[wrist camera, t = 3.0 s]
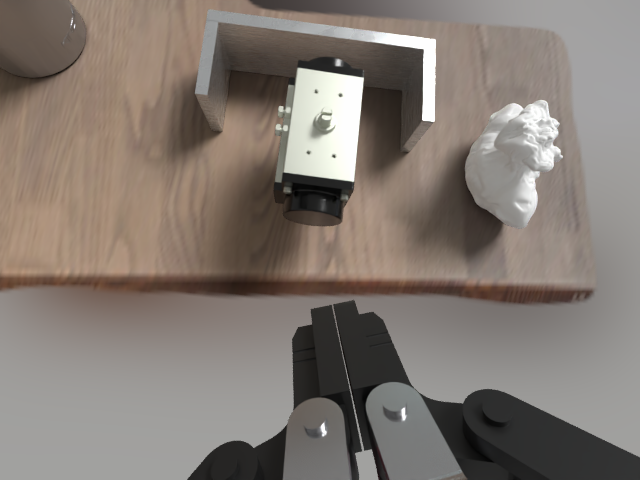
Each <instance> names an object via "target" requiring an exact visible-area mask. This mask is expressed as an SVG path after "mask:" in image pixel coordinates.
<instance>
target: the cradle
mask: <svg viewBox="0 0 640 480" xmlns="http://www.w3.org/2000/svg"><path fill="white" fill-rule="evenodd" d="M318 57H334V58H338V59H341V60H343V61H345V62H347V63H348V64H349V65H350V66H351V67H352V68H353V69H360V70H364V71H365V72H364V83H363V86H367V87H376V88H384V89H392V90H400V91H402V108H401V141H400V151H405V152H410V151H411V150H412V149H413V147H414V146H415V145H416V144H417V142H418V141H419V140H420V139H421V137H422V136H423V135H424V134H425V132H426V131H427V130H428V129H429V127H430V126H431V125H432V124H433V122H434V101H435V40H434V39H426V38H419V37H411V36H404V35H397V34H389V33H382V32H374V31H367V30H359V29H352V28H344V27H337V26H329V25H322V24H314V23H307V22H299V21H292V20H284V19H277V18H269V17H262V16H255V15H247V14H240V13H232V12H225V11H217V10H210V9H208V14H207V20H206V26H205V33H204V39H203V45H202V51H201V58H200V64H199V70H198V77H197V83H196V89H195V95H196V97H197V99H198V101H199V104H200V106H201V108H202V110H203V112H204V114H205V116H206V119H207V121H208V123H209V125H210V127H211V129H212V131H220V132H222V131H223V124H224V117H225V109H226V102H227V95H228V88H229V80H230V73H231V70H236V71H244V72H252V73H261V74H269V75H277V76H285V77H293V78H296V71H297V64H298V60H302V61H310V60H312V59H314V58H318Z"/></svg>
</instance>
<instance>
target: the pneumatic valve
mask: <svg viewBox="0 0 640 480" xmlns="http://www.w3.org/2000/svg"><path fill="white" fill-rule="evenodd" d="M364 72H365V71H364V70H360V69H353V68H352V67H351V66H350V65H349V64H348V63H347V62H345V61H343V60H341V59H338V58H334V57H318V58H314V59H312V60H310V61H302V60H298V64H297V71H296V78H289V83H288V90H287V97H286V105H285V110H284V106H279V109H278V117H280V118H283V115H284V119H283V126H282V128H281V124H276V130H275V135H277V136H280V135H281V140H280V147H279V154H278V161H277V169H276V176H275V183H274V190H273V191H274V197H275V202H276V203H281V204H283V216H284V217H285V218H286V219H288V220H290V221H293V222H296V223H300V224H305V225H311V226H334V225H338V224H340V223H341V222H342V219H343V208H344V207H345V205H346V203H347V201H348V200H349V198H350V196H351V194H352V193H353V190H354V179H355V168H356V158H357V147H358V136H359V126H360V115H361V104H362V94H363V83H364Z"/></svg>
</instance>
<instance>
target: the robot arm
mask: <svg viewBox="0 0 640 480" xmlns="http://www.w3.org/2000/svg"><path fill="white" fill-rule="evenodd" d="M85 41H86V28H85V24H84V21H83V19H82V17H81V16H80V14H79V13H78V11H77V10H76V9H75V7H74V6H73V5H72V3H71V2H70V1H69V0H0V67H1V68H2V69H4V70H5V71H7V72H9V73H11V74H14V75H17V76H21V77H29V78H34V77H44V76H48V75H52V74H55V73H57V72H59V71H62V70H63V69H65V68H66V67H68V66H69V65H71V64H72V63H73V62H74V61H75V60H76V59H77V58H78V56H79V55H80V53H81V52H82V50H83V47H84V44H85ZM334 311H335V315H336V320H337V326H338V330H339V335H340V341H341V346H342V350H343V355H344V360H345V364H346V369H347V374H348V378H349V383H350V387H351V391H352V396H353V401H354V405H355V410H356V414H357V419H358V423H359V428H360V433H361V437H362V442H363V446H364V450H370V449H372V451H373V456H374V460H375V464H376V468H377V474H378V479H379V480H640V457H638V456H636V455H633V454H631V453H629V452H627V451H625V450H623V449H621V448H619V447H617V446H615V445H613V444H611V443H609V442H607V441H605V440H602V439H600V438H598V437H596V436H594V435H592V434H590V433H588V432H586V431H584V430H582V429H580V428H578V427H576V426H573V425H571V424H569V423H567V422H565V421H563V420H561V419H559V418H556V417H555V416H552V415H551V414H549V413H546V412H544V411H542V410H540V409H538V408H536V407H534V406H532V405H530V404H528V403H526V402H524V401H522V400H519V399H518V398H515V397H513V396H511V395H509V394H507V393H504V392H501V391H498V390H492V389H483V390H478V391H475V392H473V393H472V394H470V395H468V397H467V398H466V399H465V401H464V403H463V404H462V403H451V402H441V401H436V400H432V399H430V398H427V397H425V396H423V395H422V394H420V393H419V392H418V391H417V390H416V389H414V387H413V386H412V385H411V383H410V382H409V379H408V377H407V375H406V372H405V370H404V368H403V365H402V363H401V361H400V358H399V356H398V354H397V351H396V349H395V348H394V344H393V343H392V340H391V337H390V335H389V334H388V330H387V329H386V326H385V323H384V321H383V320H382V319H381V318H380V317H378V316H377V315H376V314H375V313H374V312H369V313H365V314H360V315H359V313H358V310H357V307H356V304H355V301H354V300H352V301H348V302H343V303H338V304H334ZM311 316H312V325H307V326H303V327H298V329H297V331H296V333H295V335H294V337H293V339H292V347H293V348H292V349H293V388H294V389H293V390H294V409H293V412H292V413H291V415H290V417H289V420H288V424H287V425H286V426H285V428H284V429H283V430H282V431H281V432H280V433H278V434H277V435H276V436H274V437H273V438H271V439H269V440H268V441H266V442H264V443H262V444H261V445H258V446H257V447H255V448H253V447H252V446H251V445H249V444H248V443H246V442H243V441H231V442H227V443H225V444H223V445H220V446H219V447H217V448H216V449H214V450H213V451H212V452H211V453H210V454H209V455H208V456H207V457H206V458H205V459H204V460H203V462H202V463H201V464H200V465H199V466H198V467H197V469H196V470H195V471H194V472H193V473H192V474H191V476H190V477H189V478H188V479H187V480H359V472H358V466H357V461H356V456H355V453H356V452H361V451H362V449H361V444H360V439H359V434H358V429H357V424H356V419H355V414H354V409H353V404H352V398H351V393H350V389H349V384H348V379H347V375H346V370H345V365H344V361H343V357H342V351H341V347H340V342H339V337H338V333H337V328H336V323H335V319H334V315H333V310H332V305H329V306H324V307H319V308H314V309H311Z"/></svg>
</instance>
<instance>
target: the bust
mask: <svg viewBox="0 0 640 480" xmlns="http://www.w3.org/2000/svg"><path fill="white" fill-rule="evenodd" d="M558 126H559V123H558V122H557V120H555V119H553V118H550V116H549V110H548V103H547V102H546V101H544V100H538V101H536V102H535V103H533V104H529V105H527V106H526V107H525V108H524V109H523V108H522V107H521V106H520V105H518V104H515V103H513V104H509V105H507V106H505V107H504V108H503V109H501V110H500V111H498V112H496V113H494V114H492V115H491V116H490V119H489V122H488V125H487V127H486V128H485V130H484V132H483V133H482V135H481V136H479V137H478V139H477V140H476V141H475V142H474V143H473V144H472V146H471V149H470V154H469V155H468V157H467V160H466V163H465V172H466V174H465V179H466V182H467V187H468V189H469V190H470V192H471V193H472V196H473V198H474V200H475V202H476V204H477V205H479V206H480V207H481V208H483V209H486V210H488V211H489V212H490V213H492V214H493V215H494V216H496V217H497V218H498V219H499V220H501V221H502V222H503V223H504V224H505V225H507V226H510V227H514V228H517V229H522V228H524V227H526V226H527V224H528V221H529V220H530V218H531V216H532V215H533V213H534V211H535V209H536V207H537V192H536V190H535V179H536V178H538V177H539V173H540V172H547V171H549V170H551V169H552V168H553V166H554V162H558V161H559V160H560V159H562V158H563V156H562V155H560V151H561V150H560V149H559V148H558V147H555V146H553V144H552V143H553V141H554V139H555V138H556V137H557V136H558V130H557V127H558Z"/></svg>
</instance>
